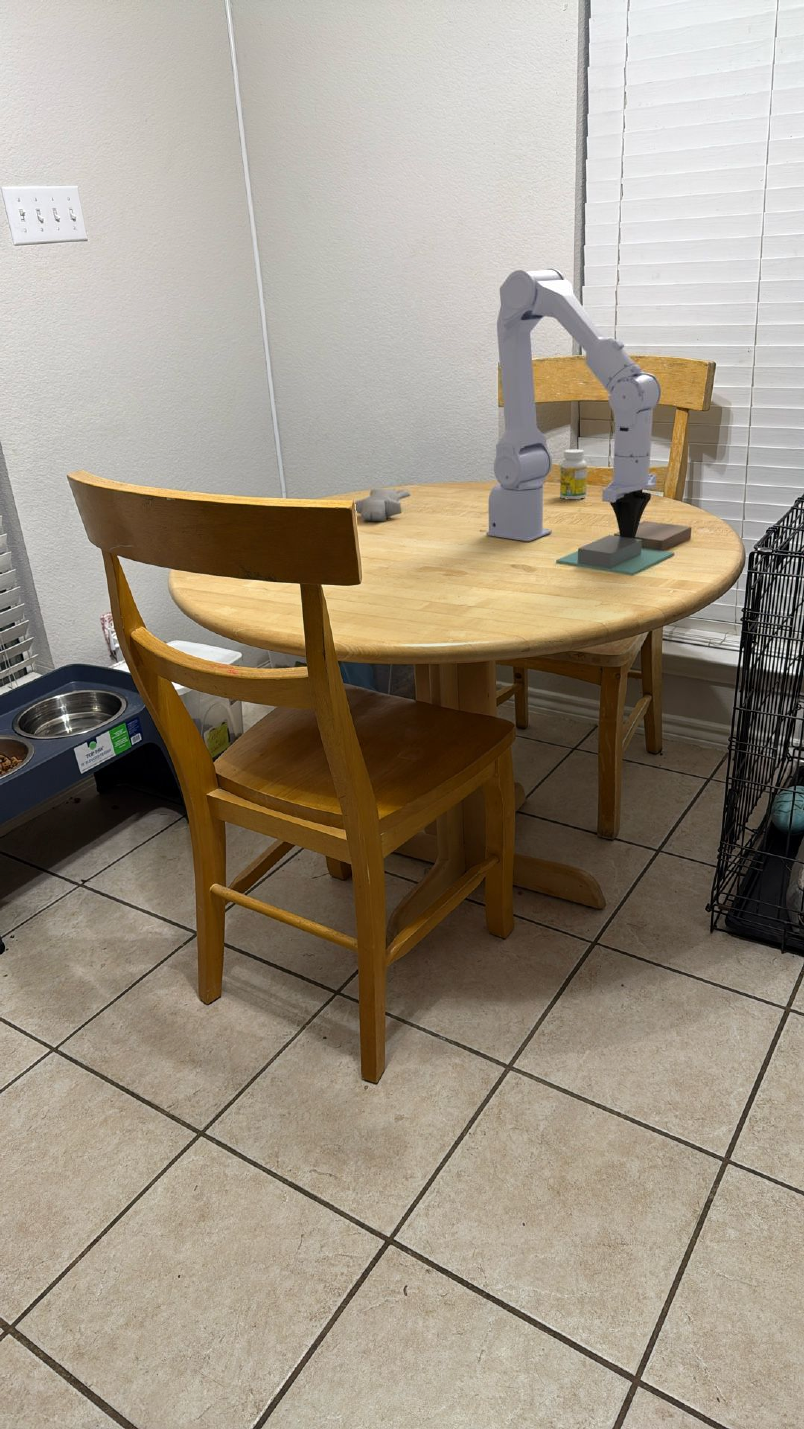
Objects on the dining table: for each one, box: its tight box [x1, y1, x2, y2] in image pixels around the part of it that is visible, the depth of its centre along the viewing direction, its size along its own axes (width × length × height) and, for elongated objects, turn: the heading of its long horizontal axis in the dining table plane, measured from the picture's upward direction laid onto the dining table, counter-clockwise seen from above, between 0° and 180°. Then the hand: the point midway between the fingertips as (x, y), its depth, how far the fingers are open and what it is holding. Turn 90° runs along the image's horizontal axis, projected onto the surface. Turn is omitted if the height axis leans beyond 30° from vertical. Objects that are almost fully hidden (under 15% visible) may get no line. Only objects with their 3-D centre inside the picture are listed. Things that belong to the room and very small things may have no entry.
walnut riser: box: [613, 520, 692, 551], centre depth 168 cm, size 9×11×2 cm
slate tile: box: [577, 534, 642, 569], centre depth 158 cm, size 6×10×2 cm, turn 140°
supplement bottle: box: [559, 448, 588, 500], centre depth 202 cm, size 5×5×10 cm
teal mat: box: [555, 548, 675, 576], centre depth 160 cm, size 14×14×1 cm
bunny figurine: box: [354, 488, 411, 522], centre depth 196 cm, size 10×5×15 cm
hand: (627, 537), depth 161 cm, fingers closed
